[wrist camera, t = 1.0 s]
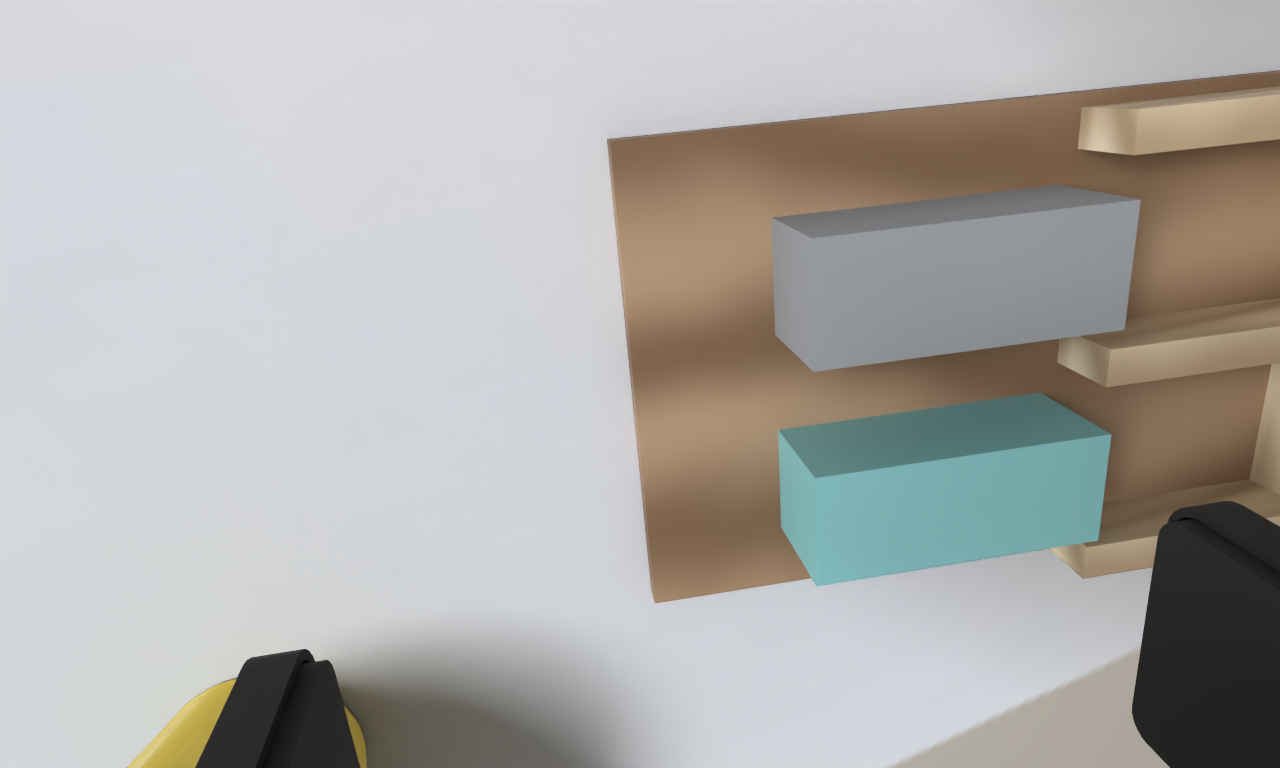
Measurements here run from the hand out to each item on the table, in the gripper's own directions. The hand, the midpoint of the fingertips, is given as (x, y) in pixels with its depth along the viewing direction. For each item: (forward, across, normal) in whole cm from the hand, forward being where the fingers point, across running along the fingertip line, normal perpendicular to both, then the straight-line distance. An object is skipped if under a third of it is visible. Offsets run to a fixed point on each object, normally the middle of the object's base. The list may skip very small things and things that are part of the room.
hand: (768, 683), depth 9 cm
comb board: (+17, -12, +3) cm, 21 cm away
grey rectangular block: (+16, -10, 0) cm, 19 cm away
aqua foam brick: (+16, -10, +6) cm, 20 cm away
